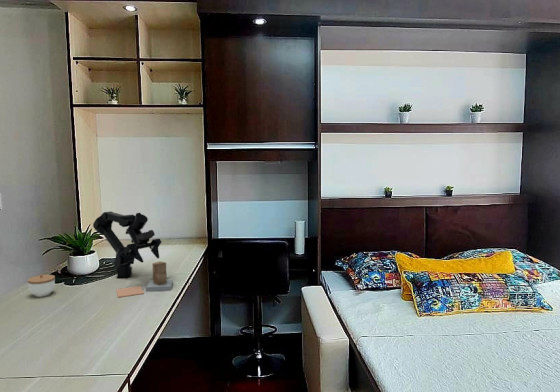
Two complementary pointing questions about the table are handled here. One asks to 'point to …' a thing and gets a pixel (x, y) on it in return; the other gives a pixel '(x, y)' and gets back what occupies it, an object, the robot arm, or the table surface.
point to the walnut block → (159, 273)
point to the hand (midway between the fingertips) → (150, 260)
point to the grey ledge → (159, 286)
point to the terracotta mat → (129, 291)
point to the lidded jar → (41, 285)
